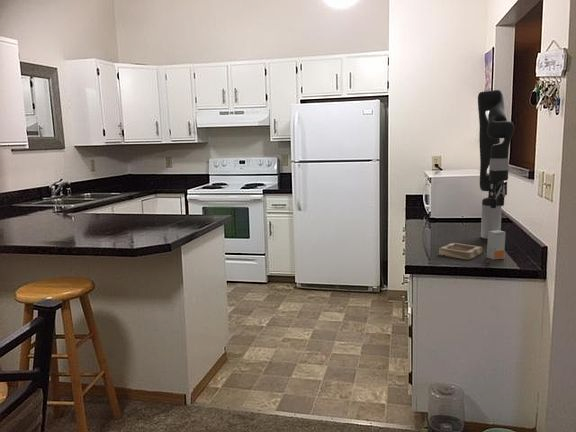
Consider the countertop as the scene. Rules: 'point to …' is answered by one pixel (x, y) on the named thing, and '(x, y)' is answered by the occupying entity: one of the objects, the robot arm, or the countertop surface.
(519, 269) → the countertop surface
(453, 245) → the birch stand
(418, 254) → the countertop surface
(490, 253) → the skincare box
